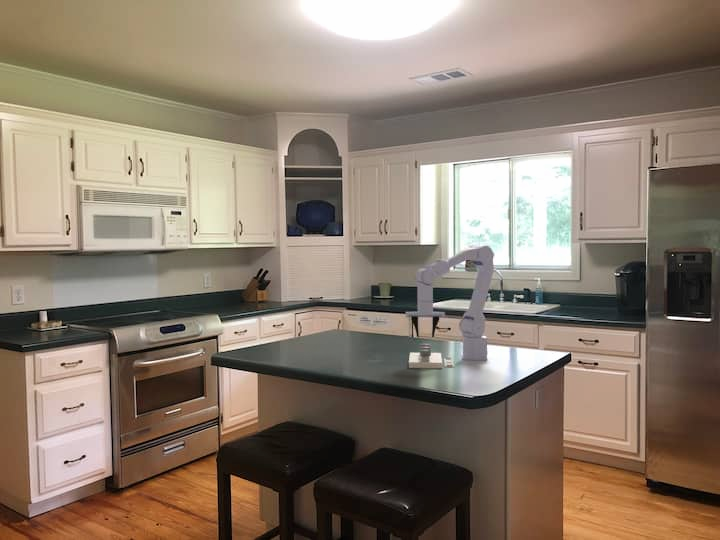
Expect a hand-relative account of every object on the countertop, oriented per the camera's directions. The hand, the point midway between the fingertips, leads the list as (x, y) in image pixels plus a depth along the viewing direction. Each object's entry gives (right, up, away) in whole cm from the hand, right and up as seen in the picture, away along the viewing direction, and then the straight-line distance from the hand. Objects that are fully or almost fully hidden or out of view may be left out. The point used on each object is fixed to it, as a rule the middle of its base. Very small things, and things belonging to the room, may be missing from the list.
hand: (425, 336), depth 219 cm
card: (+9, -10, 0) cm, 13 cm away
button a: (+1, -8, +6) cm, 10 cm away
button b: (0, -8, 0) cm, 8 cm away
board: (0, -10, +1) cm, 10 cm away
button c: (-1, -9, -5) cm, 10 cm away
